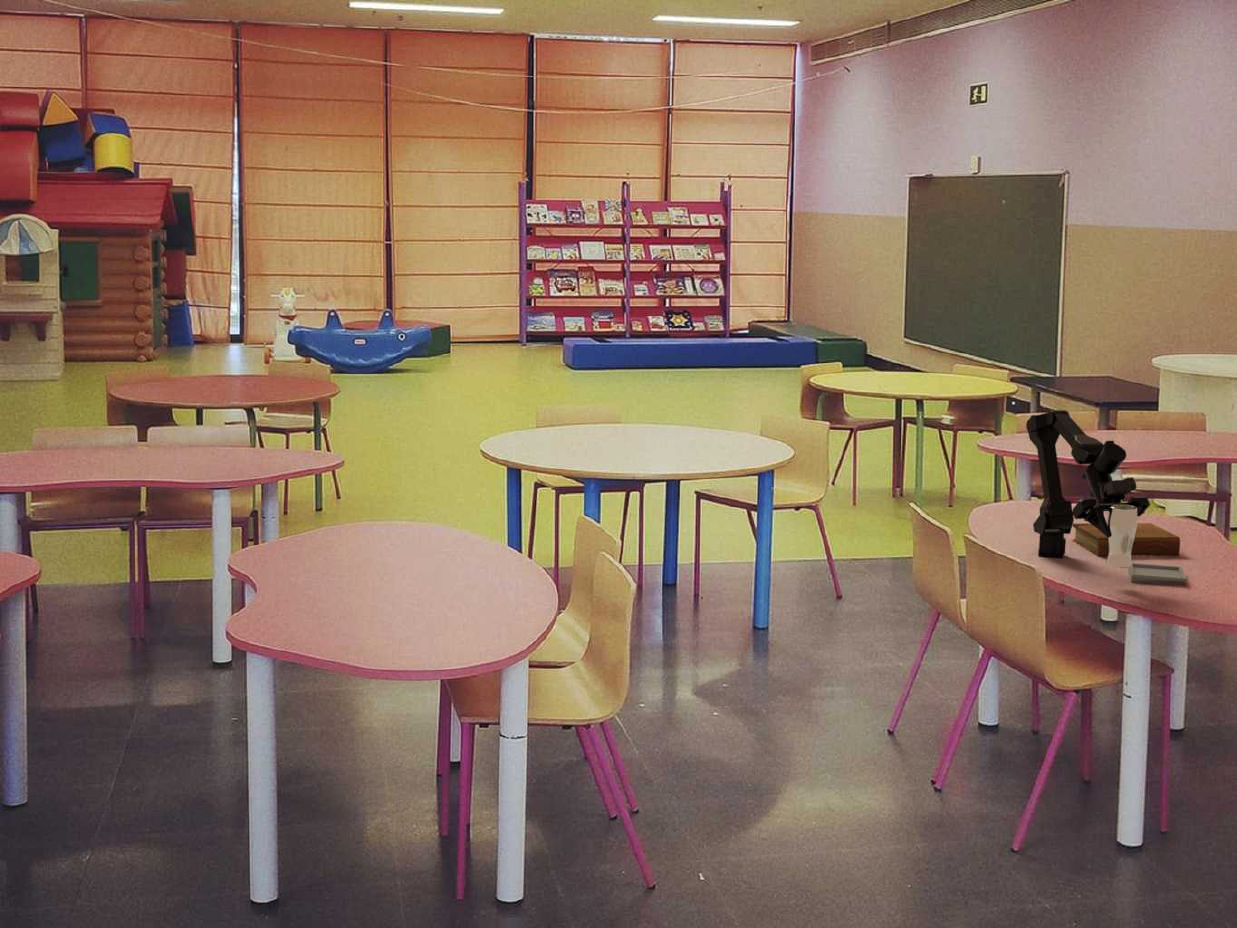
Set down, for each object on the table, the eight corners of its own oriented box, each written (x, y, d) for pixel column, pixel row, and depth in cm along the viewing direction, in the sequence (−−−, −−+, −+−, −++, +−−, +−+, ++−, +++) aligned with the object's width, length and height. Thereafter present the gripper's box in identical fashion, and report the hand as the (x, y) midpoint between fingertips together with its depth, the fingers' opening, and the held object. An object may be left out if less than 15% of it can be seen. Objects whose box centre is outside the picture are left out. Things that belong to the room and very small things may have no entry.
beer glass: (1135, 569, 344) (1140, 510, 342) (1106, 567, 346) (1110, 509, 343) (1131, 562, 351) (1135, 504, 348) (1102, 561, 352) (1106, 503, 350)
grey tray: (1131, 582, 353) (1131, 574, 353) (1128, 570, 366) (1128, 562, 365) (1186, 586, 350) (1186, 578, 349) (1180, 573, 362) (1181, 566, 362)
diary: (1097, 558, 381) (1098, 538, 380) (1071, 543, 399) (1072, 523, 398) (1179, 557, 382) (1180, 536, 381) (1149, 541, 400) (1150, 522, 399)
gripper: (1081, 467, 347) (1101, 520, 338) (1149, 465, 350) (1170, 517, 342) (1063, 491, 356) (1082, 544, 347) (1129, 489, 359) (1150, 541, 351)
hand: (1122, 536), depth 347 cm, fingers closed on beer glass, 7 cm apart
